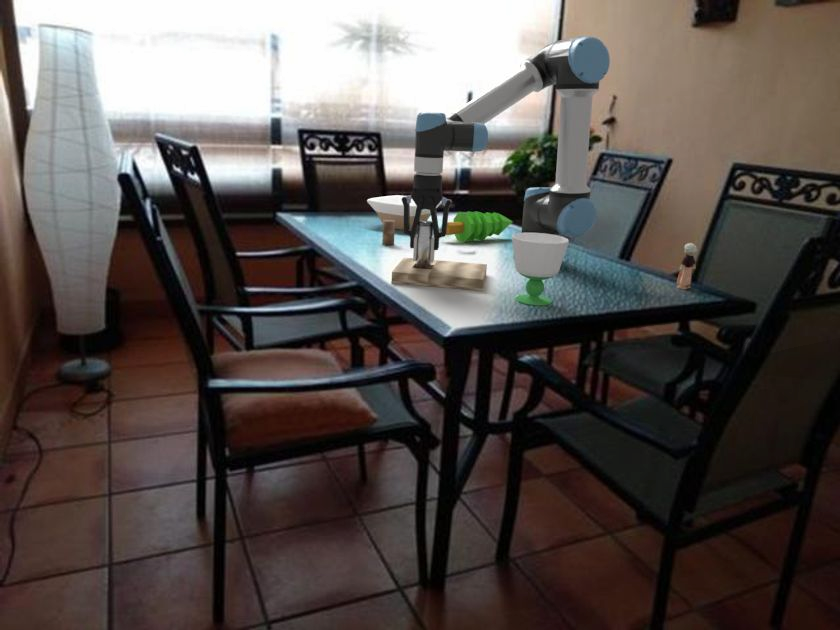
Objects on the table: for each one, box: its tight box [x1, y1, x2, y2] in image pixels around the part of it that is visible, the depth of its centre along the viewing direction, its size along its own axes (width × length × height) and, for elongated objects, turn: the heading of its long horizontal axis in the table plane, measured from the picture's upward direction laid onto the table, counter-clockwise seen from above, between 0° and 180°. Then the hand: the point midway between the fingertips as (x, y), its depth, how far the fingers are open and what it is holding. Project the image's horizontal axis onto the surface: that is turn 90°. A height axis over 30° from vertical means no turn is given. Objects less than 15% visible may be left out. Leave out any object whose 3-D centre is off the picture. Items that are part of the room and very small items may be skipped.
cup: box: [511, 232, 570, 307], centre depth 156 cm, size 14×14×16 cm
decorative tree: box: [445, 210, 514, 243], centre depth 230 cm, size 11×12×30 cm
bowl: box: [366, 194, 443, 231], centre depth 249 cm, size 24×25×11 cm
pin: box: [416, 220, 434, 269], centre depth 172 cm, size 4×4×13 cm
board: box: [390, 257, 488, 292], centre depth 174 cm, size 24×18×3 cm
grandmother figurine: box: [676, 242, 698, 290], centre depth 176 cm, size 8×4×13 cm, turn 141°
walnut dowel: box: [382, 220, 396, 246], centre depth 215 cm, size 4×4×8 cm
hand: (423, 260), depth 174 cm, fingers closed on pin, 4 cm apart
